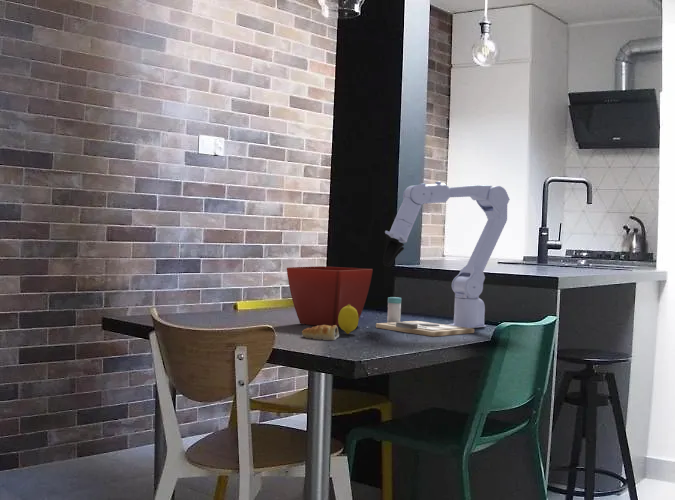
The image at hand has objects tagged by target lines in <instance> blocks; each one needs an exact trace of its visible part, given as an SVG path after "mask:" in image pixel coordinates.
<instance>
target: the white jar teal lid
mask: <svg viewBox="0 0 675 500" xmlns="http://www.w3.org/2000/svg"><path fill="white" fill-rule="evenodd" d="M401 313H402V297H398V296H397V297H396V296H390V297H387V317H386V319H387V322H386V323H390V322H401V315H402V314H401Z"/></svg>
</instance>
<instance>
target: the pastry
mask: <svg viewBox="0 0 675 500" xmlns="http://www.w3.org/2000/svg"><path fill="white" fill-rule="evenodd" d="M301 334H302V337H304V338H306V339H311V338H313V340H321V339H323V340H322V341H335V340H337V339H338V338H339V337H340V333H339V327H337V326H336V325H333V326H328V325H320V326H316V325H314V326H312V327H306V328H304V329H303V330H302V331H301Z"/></svg>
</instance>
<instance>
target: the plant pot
mask: <svg viewBox="0 0 675 500" xmlns="http://www.w3.org/2000/svg"><path fill="white" fill-rule="evenodd" d="M286 274H287V280H288V286H289V292H290V295H291V300H292V304H293V307H294V310H295V313H296V316H297V318H298V322H299V324H300V325H305V324H306V325H309V326H320V325H328V326H333V325H336V326H337V327H338V328H340V326H339V323H338V316H339V313H340V310H341V309H342V308H343V307H345V306H347V305H351V306H352V307H354V308H355V309H356V310H357V312H358V317H359V319H360V318H361V315H362V312H363V310H364V307H365V304H366V301H367V297H368V294H369V290H370V287H371V282H372V276H373V268H360V267H359V268H358V267H342V266H341V267H340V266H323V265H322V266H318V265H317V266H291V267H286Z"/></svg>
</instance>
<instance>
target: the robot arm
mask: <svg viewBox="0 0 675 500" xmlns="http://www.w3.org/2000/svg"><path fill="white" fill-rule="evenodd" d="M467 197H468V198H469V197H470V198H471V200H473V201H475V202H476V203H477V204H478V206H479V208H480V209H481V210H482V211H483V212H484V213H485V216H486V219H487V221H486V223H485V225H484V228H483V230H482V232H481V234H480V236H479V237H478V240H477V243H476V245H475V247H474V249H473V251H472V252H471V254H470V258H469V259H468V262H467V264H466V265H465V266H464V267H462V268H461V269H460V271H459V273H458V274H457V275H456V276H455V277H454V278H453V280H451V281H452V282H451V289H452V291H453V292H454V306H453V307H454V309H453V314H454V315H453V323H448V324H447V325H451V326H459V327H466V328H473V329H476V328H477V329H478V328H487V325H486V324H485V313H486V305H485V302H484V300H483V299H481V298H480V295H481V294H482V293H483V290H484V282H485V279H486V276H485V273H484V271H485V269H486V266H487V264H488V262H489V261H490V258H491V256H492V254H493V252H494V249H495V247H496V246H497V243H498V240H499V239H500V236H501V235H502V232H503V230H504V228H505V226H506V223H507V221H508V204H509V202H510V197H509V195H508V192H507V190H506V189H505V188H504V187H503V186H501V185H495V186H493V185H487V184H486V185H485V184H474V185H472V184H471V185H461V186H451V187H450V186H448V185H447V184H446V183H443V182H442V181H435V183H431V184H430V183H429V184H426V183H425V182H423V183H422V182H421V183H419V184H415V185H408V186H407V187H406V188H405V190H403V192H402V199H403V200H402V202H401V204H400V207H399V209H398V211H397V214H396V216H395V217H394V221H393V222H392V225H391V228H390V230H389V231H388V230H385V231H384V233H385V235H386V237H385V248H384V252H383V256H382V257H383V258H382V263H383V265H384V266H386V267H388V268H390V267H391V266H392V265H393V263H394V261H395V259H396V258H397V257H398V256H399V255H400V253H401V252H403V251H404V250H405V247H404V245H405V244H404V243H408V239H409V235H410V234H411V231H412V229H413V226H414V224H415V222H416V219H417V217H418V215H419V212H420V210H421V207H422V205H424V204H439V203H447V201H448V200H449V199H450V198H467Z"/></svg>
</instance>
